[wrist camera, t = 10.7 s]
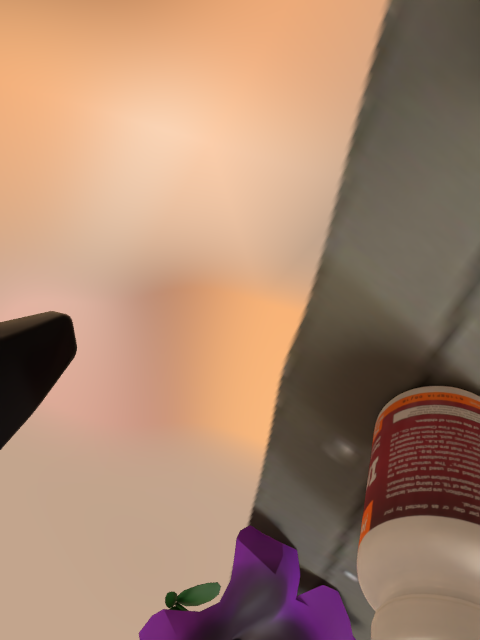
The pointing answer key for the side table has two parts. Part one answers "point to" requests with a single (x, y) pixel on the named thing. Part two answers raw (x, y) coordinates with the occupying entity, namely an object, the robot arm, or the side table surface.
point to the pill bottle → (423, 518)
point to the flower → (254, 601)
